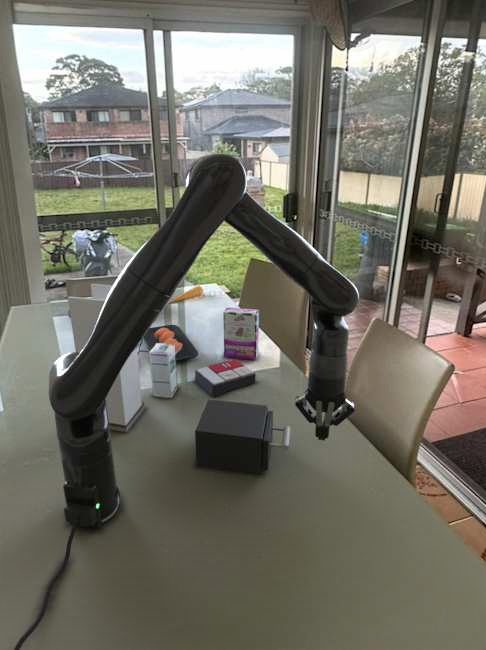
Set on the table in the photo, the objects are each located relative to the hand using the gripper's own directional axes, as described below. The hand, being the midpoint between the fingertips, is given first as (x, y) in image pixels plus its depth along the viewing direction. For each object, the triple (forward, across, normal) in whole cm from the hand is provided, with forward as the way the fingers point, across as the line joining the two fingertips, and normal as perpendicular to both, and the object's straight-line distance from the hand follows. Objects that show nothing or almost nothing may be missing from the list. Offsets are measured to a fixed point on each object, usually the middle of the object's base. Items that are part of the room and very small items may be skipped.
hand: (321, 437), depth 97 cm
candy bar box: (+7, -26, +49) cm, 56 cm away
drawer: (+6, -16, 0) cm, 17 cm away
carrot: (+7, -60, +101) cm, 118 cm away
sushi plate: (+7, -59, +47) cm, 76 cm away
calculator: (+7, -28, +31) cm, 42 cm away
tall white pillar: (+7, -53, +8) cm, 54 cm away
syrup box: (+7, -44, +22) cm, 49 cm away
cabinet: (+7, -20, 0) cm, 21 cm away
